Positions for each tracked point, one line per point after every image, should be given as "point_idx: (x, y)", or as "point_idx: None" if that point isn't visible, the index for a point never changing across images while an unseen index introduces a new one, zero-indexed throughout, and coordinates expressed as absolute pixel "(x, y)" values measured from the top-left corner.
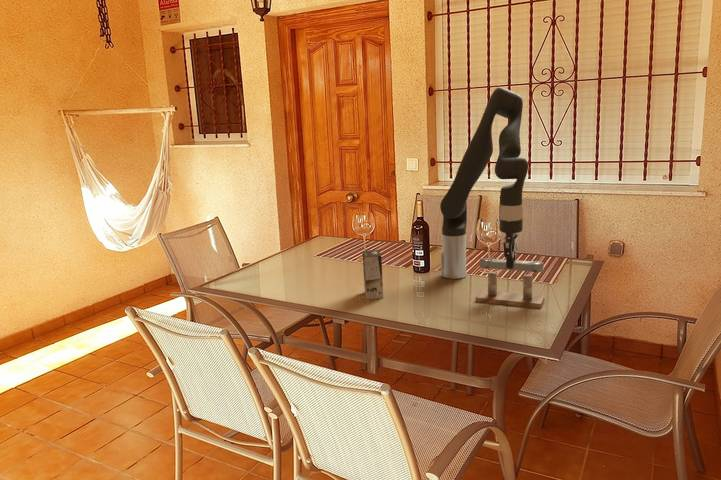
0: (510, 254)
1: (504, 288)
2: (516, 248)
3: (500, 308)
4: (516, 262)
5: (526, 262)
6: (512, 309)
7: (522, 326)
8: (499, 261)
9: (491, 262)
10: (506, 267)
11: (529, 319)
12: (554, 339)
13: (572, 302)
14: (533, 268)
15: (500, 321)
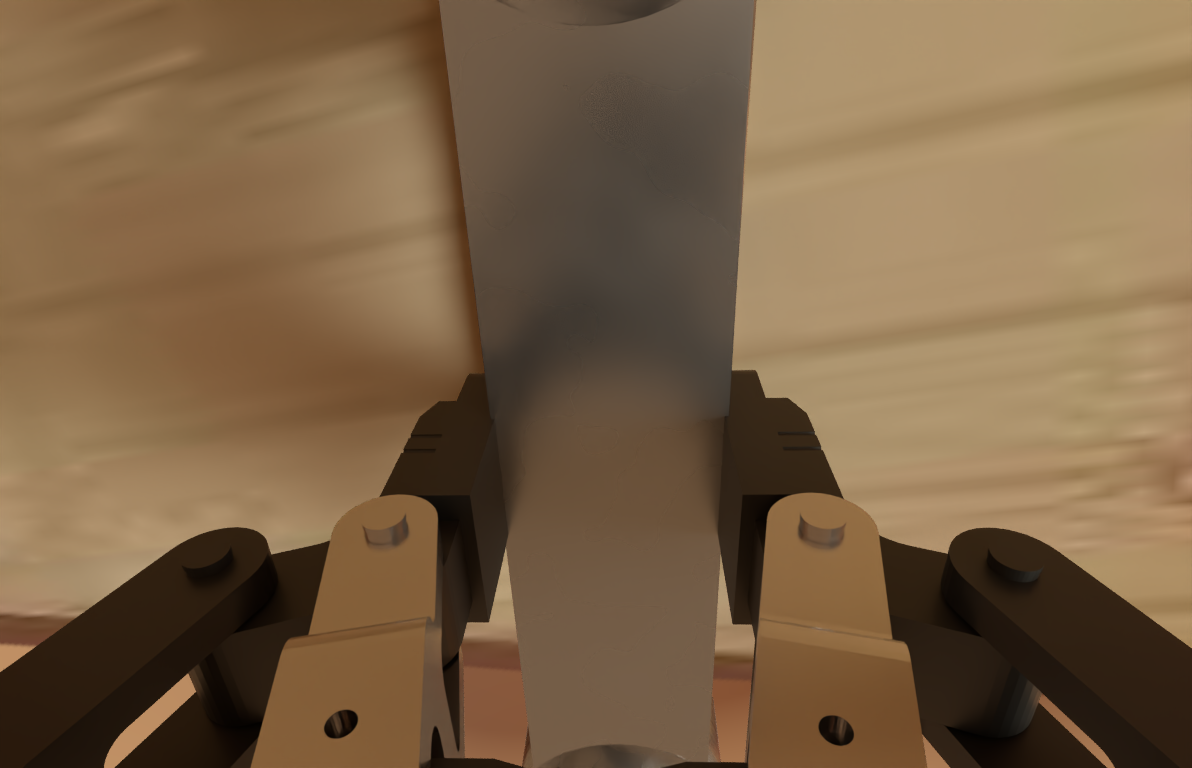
0: (142, 748)
1: (1031, 64)
2: (939, 750)
3: (361, 176)
4: (566, 578)
5: (618, 704)
6: (389, 290)
7: (80, 428)
8: (536, 249)
9: (452, 32)
10: (472, 376)
11: (242, 450)
12: (21, 615)
13: (716, 649)
14: (527, 731)
15: (57, 252)
